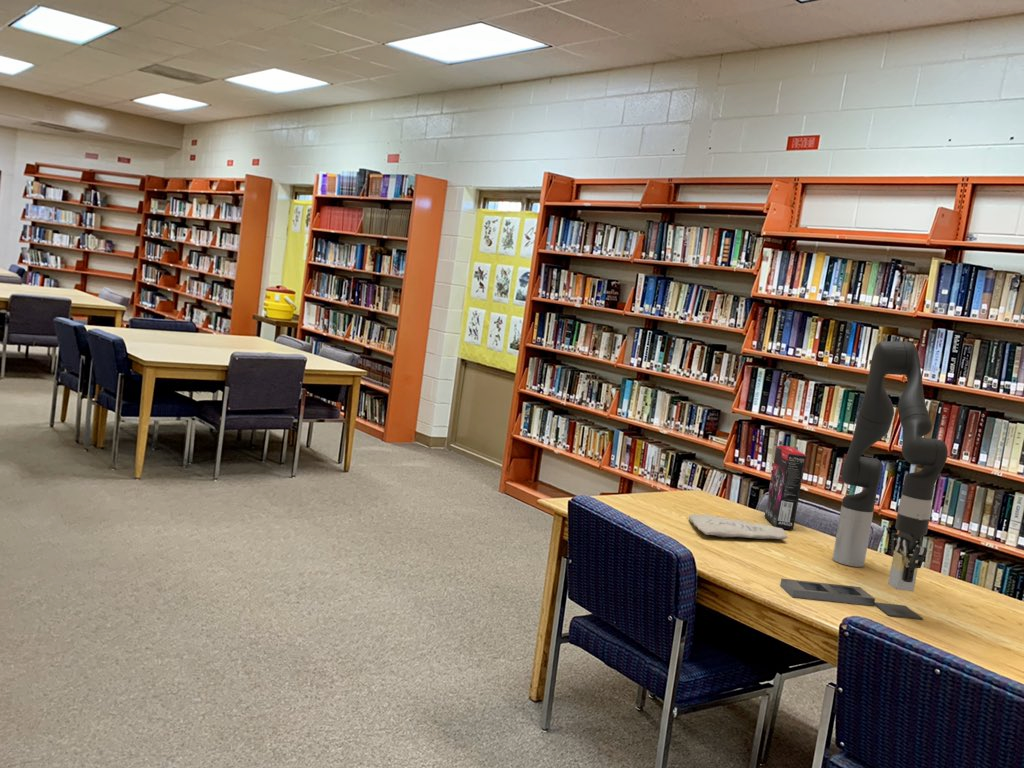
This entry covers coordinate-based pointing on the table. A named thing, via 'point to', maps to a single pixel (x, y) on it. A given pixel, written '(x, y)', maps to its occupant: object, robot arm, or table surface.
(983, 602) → the table surface
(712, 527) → the stone
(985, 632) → the table surface
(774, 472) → the graphics card box
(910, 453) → the robot arm
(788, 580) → the grey slotted frame
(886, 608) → the mat
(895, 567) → the block
